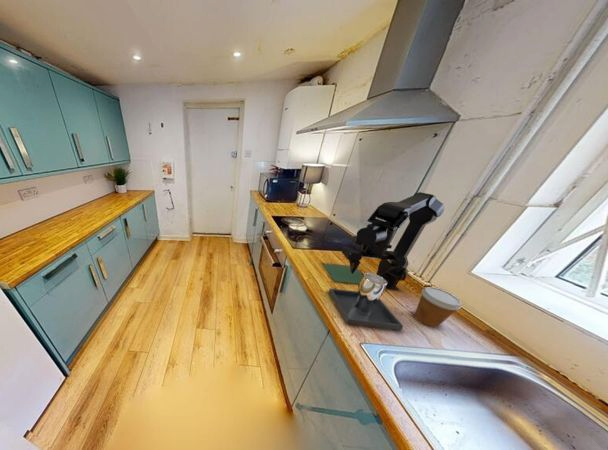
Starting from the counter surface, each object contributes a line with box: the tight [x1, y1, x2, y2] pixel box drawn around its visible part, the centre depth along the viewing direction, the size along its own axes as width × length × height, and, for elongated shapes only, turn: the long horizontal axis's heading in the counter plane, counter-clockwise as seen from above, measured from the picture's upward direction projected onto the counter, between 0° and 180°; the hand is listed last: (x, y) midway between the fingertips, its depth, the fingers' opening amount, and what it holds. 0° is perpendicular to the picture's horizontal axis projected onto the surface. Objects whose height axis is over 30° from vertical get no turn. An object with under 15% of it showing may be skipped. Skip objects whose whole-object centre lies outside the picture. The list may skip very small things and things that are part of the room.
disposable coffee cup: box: [413, 286, 463, 328], centre depth 71 cm, size 10×10×12 cm
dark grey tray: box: [327, 288, 404, 332], centre depth 76 cm, size 18×16×2 cm
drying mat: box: [322, 263, 364, 285], centre depth 97 cm, size 16×14×1 cm
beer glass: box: [352, 272, 387, 315], centre depth 73 cm, size 7×7×15 cm
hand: (364, 274), depth 76 cm, fingers open, 9 cm apart
